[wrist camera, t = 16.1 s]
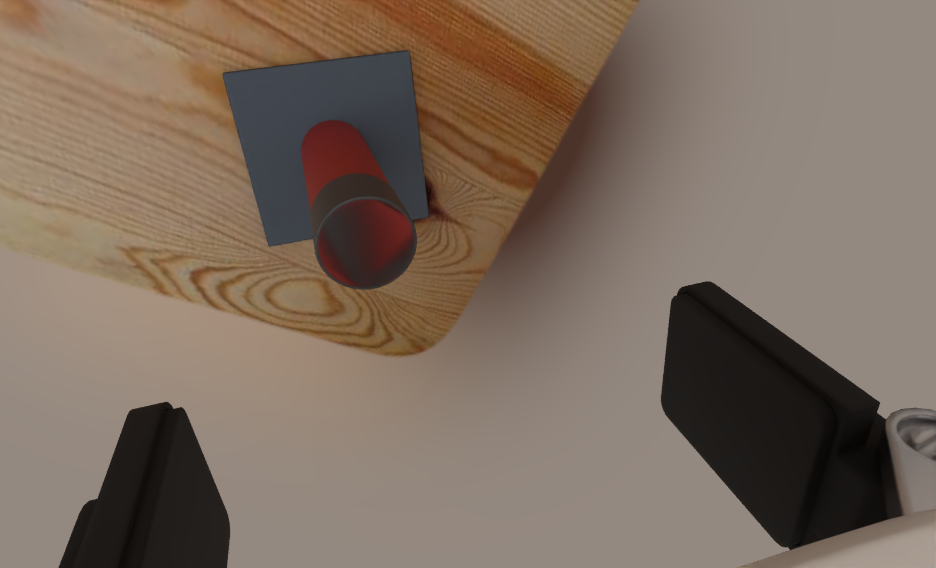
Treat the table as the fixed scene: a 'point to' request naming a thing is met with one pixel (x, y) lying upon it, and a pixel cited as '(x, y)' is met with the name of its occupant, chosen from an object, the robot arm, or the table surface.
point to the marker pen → (354, 209)
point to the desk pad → (311, 102)
